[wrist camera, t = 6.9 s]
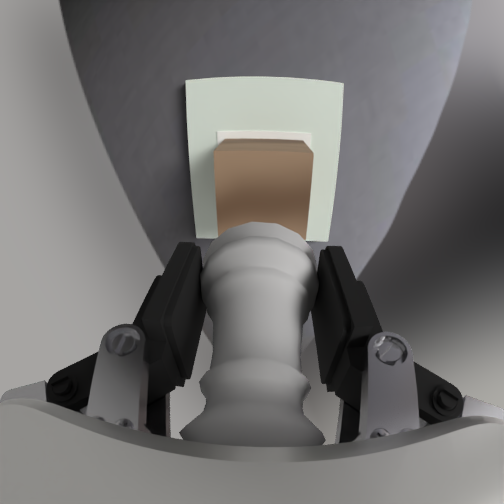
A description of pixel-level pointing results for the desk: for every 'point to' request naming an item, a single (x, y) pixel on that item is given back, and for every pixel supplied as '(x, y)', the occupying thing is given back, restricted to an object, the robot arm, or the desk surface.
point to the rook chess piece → (257, 339)
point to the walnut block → (263, 183)
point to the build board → (264, 135)
